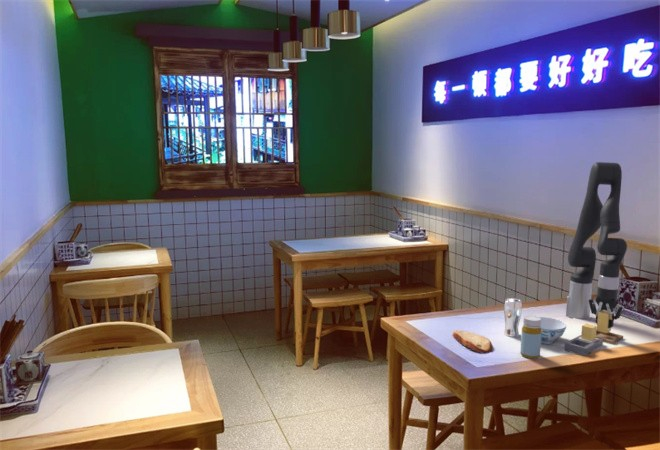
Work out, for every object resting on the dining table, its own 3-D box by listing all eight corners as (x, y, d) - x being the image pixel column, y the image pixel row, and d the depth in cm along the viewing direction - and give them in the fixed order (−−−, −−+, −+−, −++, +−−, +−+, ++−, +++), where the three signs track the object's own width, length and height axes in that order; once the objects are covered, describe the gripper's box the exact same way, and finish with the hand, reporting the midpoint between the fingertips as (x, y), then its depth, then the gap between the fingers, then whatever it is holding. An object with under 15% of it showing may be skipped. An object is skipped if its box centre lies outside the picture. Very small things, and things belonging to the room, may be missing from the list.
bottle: (517, 352, 209) (519, 315, 206) (534, 351, 209) (536, 314, 207) (525, 359, 202) (527, 321, 199) (543, 358, 202) (545, 320, 200)
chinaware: (547, 350, 211) (548, 331, 210) (517, 337, 224) (518, 320, 223) (573, 343, 218) (574, 325, 216) (543, 332, 231) (544, 314, 230)
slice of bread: (454, 333, 230) (454, 325, 230) (497, 340, 222) (497, 331, 222) (443, 347, 214) (443, 338, 214) (489, 355, 206) (489, 346, 206)
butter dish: (564, 350, 211) (566, 329, 210) (582, 340, 221) (583, 321, 219) (585, 356, 205) (586, 335, 204) (602, 346, 215) (604, 326, 213)
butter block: (596, 330, 222) (598, 312, 221) (600, 328, 225) (602, 309, 224) (606, 333, 219) (608, 314, 218) (610, 330, 222) (612, 312, 220)
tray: (585, 338, 223) (585, 334, 223) (595, 333, 230) (596, 328, 229) (612, 346, 215) (613, 341, 215) (623, 340, 221) (623, 335, 221)
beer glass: (520, 333, 230) (522, 299, 227) (519, 338, 223) (521, 303, 221) (503, 330, 233) (505, 297, 230) (501, 335, 226) (503, 301, 224)
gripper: (586, 284, 222) (582, 323, 225) (622, 292, 211) (618, 333, 214) (594, 280, 226) (590, 319, 230) (630, 288, 216) (626, 328, 219)
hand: (604, 325), depth 222 cm, fingers closed on butter block, 4 cm apart
